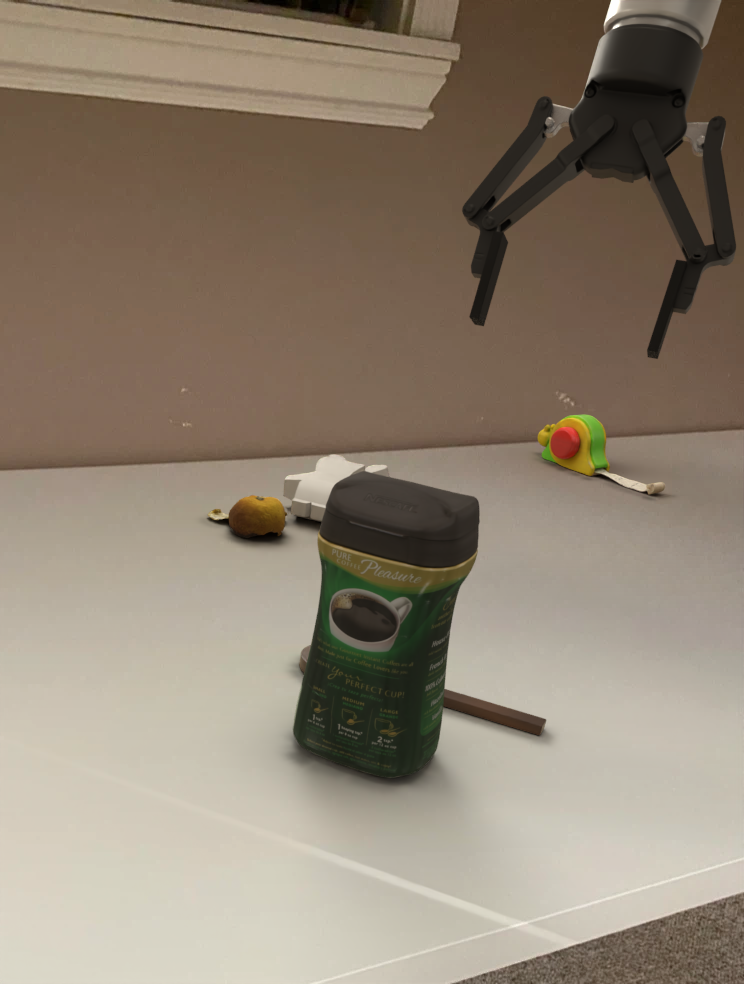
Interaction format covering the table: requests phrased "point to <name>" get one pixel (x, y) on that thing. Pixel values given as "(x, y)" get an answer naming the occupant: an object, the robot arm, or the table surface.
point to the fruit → (254, 516)
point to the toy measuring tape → (584, 450)
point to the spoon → (477, 707)
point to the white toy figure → (321, 484)
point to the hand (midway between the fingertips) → (561, 338)
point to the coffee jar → (384, 622)
